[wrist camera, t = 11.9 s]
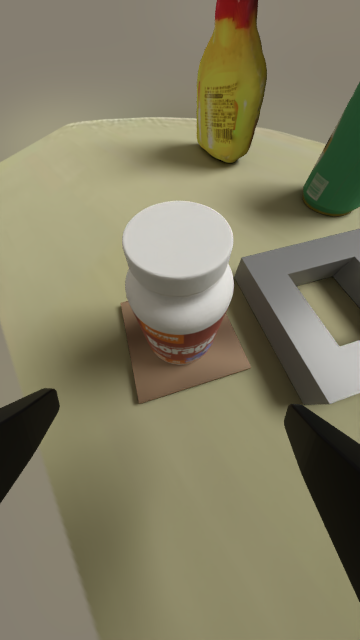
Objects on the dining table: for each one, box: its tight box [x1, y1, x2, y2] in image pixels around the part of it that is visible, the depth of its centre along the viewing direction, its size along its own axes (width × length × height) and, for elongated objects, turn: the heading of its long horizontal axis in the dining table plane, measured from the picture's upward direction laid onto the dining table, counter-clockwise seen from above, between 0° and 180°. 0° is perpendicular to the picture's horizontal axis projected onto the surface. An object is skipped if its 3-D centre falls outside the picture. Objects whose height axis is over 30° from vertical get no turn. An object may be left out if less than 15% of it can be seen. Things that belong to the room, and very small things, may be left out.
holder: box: [234, 229, 360, 405], centre depth 18 cm, size 14×14×3 cm
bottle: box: [197, 0, 267, 163], centre depth 25 cm, size 12×6×20 cm, turn 35°
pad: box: [121, 301, 251, 404], centre depth 18 cm, size 10×10×1 cm
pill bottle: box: [122, 201, 234, 365], centre depth 13 cm, size 6×6×11 cm
